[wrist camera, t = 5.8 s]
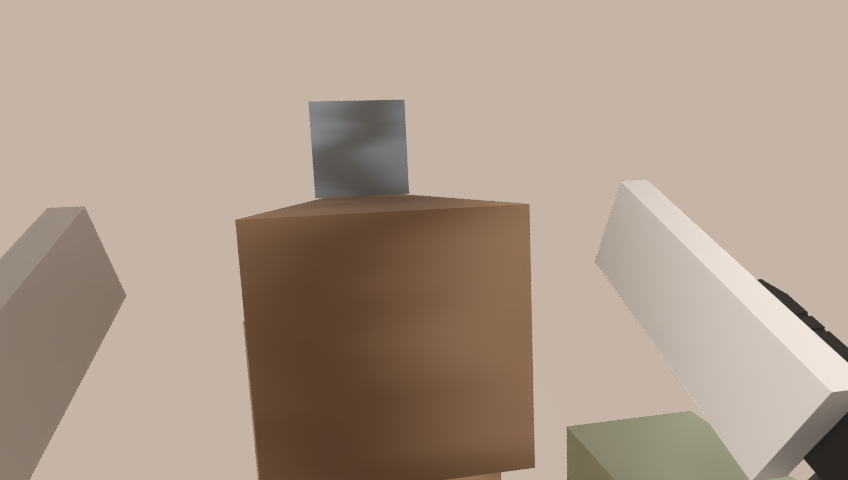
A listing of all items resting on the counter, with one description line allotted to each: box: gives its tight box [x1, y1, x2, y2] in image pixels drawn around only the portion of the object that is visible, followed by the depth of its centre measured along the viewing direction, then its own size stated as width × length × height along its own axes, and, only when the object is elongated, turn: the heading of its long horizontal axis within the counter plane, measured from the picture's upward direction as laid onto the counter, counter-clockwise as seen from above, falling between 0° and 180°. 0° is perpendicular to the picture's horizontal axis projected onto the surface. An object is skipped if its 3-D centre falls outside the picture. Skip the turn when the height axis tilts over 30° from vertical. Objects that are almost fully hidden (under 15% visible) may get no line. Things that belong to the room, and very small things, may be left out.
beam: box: [235, 100, 535, 480], centre depth 18 cm, size 5×24×9 cm, turn 9°
